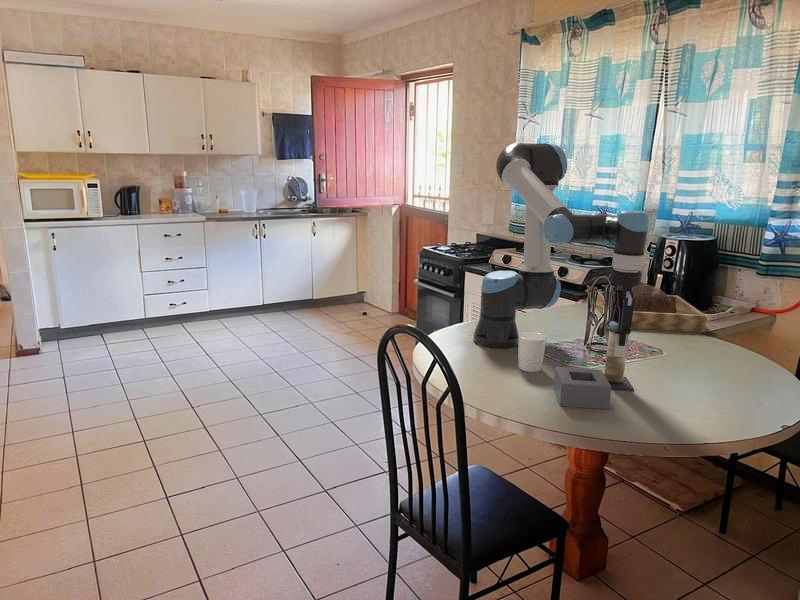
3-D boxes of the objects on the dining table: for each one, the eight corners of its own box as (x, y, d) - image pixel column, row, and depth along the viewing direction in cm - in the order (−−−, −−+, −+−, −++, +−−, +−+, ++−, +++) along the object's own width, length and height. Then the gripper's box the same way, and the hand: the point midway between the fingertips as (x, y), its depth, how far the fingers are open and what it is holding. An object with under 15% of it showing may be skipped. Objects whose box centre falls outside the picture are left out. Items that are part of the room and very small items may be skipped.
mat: (599, 388, 160) (599, 386, 160) (593, 376, 169) (593, 374, 169) (633, 390, 159) (634, 388, 159) (625, 378, 168) (625, 376, 168)
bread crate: (611, 326, 218) (613, 311, 217) (594, 305, 249) (595, 291, 248) (704, 332, 215) (707, 316, 213) (675, 309, 246) (677, 295, 244)
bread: (599, 320, 227) (603, 287, 224) (609, 305, 250) (612, 275, 247) (673, 330, 216) (678, 296, 213) (676, 314, 239) (680, 282, 236)
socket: (559, 405, 148) (561, 383, 147) (553, 387, 160) (555, 366, 158) (608, 409, 147) (611, 386, 146) (598, 390, 159) (601, 369, 157)
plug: (605, 381, 161) (612, 326, 157) (601, 375, 166) (608, 320, 162) (625, 383, 161) (632, 327, 157) (620, 376, 166) (627, 321, 162)
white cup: (544, 365, 176) (547, 333, 174) (542, 374, 169) (545, 341, 167) (518, 362, 179) (520, 330, 176) (514, 370, 172) (517, 338, 169)
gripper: (651, 277, 147) (639, 365, 153) (632, 264, 164) (622, 343, 170) (620, 275, 148) (609, 363, 153) (604, 262, 165) (595, 341, 171)
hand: (616, 352), depth 162 cm, fingers closed on plug, 5 cm apart
